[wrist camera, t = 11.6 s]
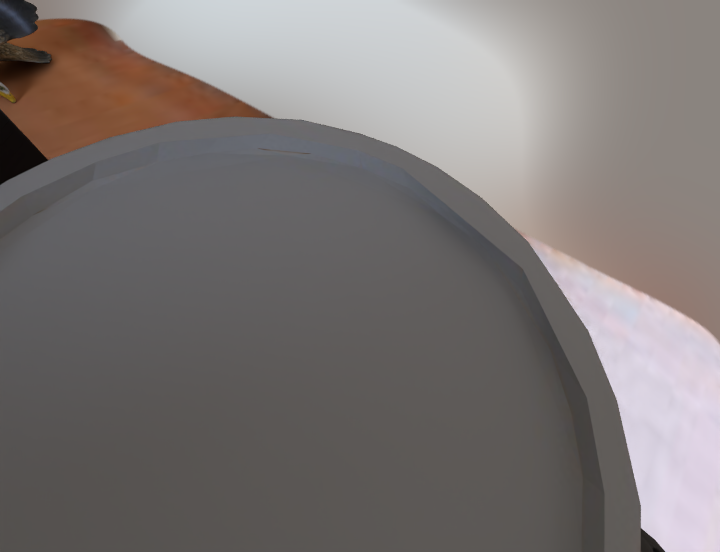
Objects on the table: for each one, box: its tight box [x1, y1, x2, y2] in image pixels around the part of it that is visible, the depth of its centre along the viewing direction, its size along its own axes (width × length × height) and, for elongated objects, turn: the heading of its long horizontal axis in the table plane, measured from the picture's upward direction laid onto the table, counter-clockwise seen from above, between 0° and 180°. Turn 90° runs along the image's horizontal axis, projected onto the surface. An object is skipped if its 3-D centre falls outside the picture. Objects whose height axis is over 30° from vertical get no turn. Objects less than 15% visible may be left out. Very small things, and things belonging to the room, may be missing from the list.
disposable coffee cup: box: [0, 117, 641, 552], centre depth 9 cm, size 10×10×12 cm
